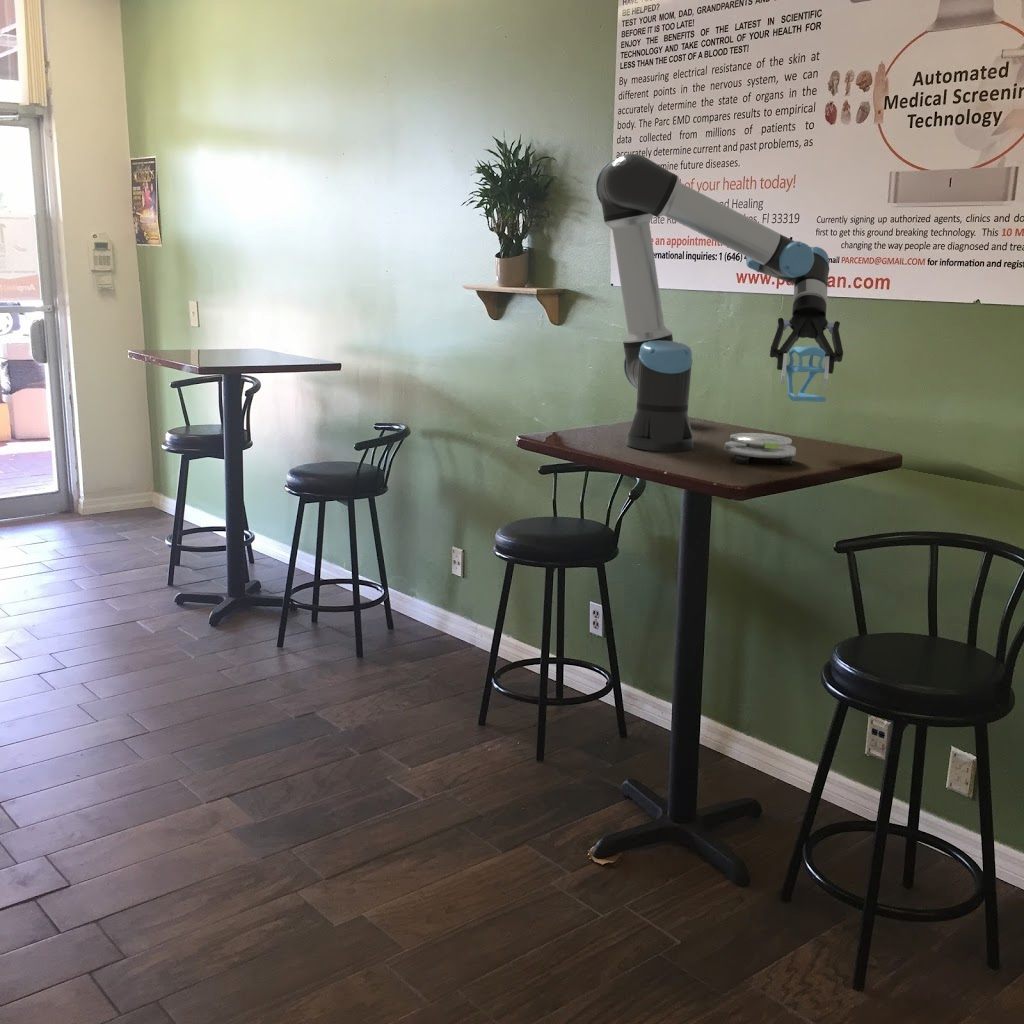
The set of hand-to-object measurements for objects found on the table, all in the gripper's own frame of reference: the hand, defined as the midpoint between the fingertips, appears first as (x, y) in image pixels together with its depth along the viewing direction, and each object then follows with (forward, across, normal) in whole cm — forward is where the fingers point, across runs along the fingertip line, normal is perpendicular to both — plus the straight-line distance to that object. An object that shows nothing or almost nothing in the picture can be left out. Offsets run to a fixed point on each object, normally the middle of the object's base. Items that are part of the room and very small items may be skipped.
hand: (804, 381), depth 234 cm
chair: (+1, 0, -6) cm, 6 cm away
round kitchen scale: (+19, +8, -4) cm, 21 cm away
